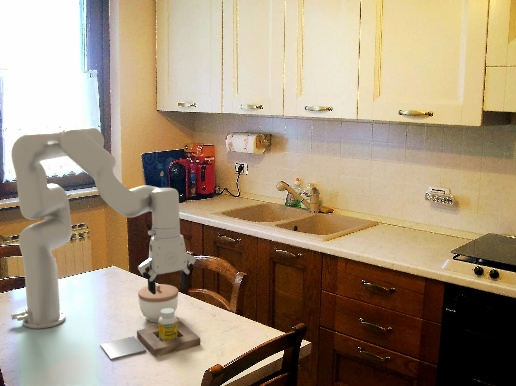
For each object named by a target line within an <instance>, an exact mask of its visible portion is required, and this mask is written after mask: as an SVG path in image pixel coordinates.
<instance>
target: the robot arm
mask: <svg viewBox="0 0 516 386" xmlns="http://www.w3.org/2000/svg"><path fill="white" fill-rule="evenodd" d="M104 146H105V137H104V135H103V134H102V132H101V131H100V130H99V129H98V128H96V127H93V126H89V125H88V126H86V125H85V126H79V127H78V126H77V127H69V128H58V129H49V130H39V131H33V132H32V131H31V132H29V133H26V134H23V135H22V136H20V137H19V138H17V139H16V140H15V142H14V143H13V145H12V148H11V160H12V161H11V162H12V165H13V169H14V173H15V178H16V186H17V188H16V189H17V196H18V203H19V209H20V213H21V215H22V217H24V218H25V219H27V220H31V221H34V220H35V221H36V220H39V219H43V218H44V220H41V221H38V222H35V223H32V224H30V225H28V226H26V227H25V228H24V229H23V230H21V232H20V234H19V236H18V246H19V249H20V252H21V255H22V261H23V269H24V271H23V272H24V279H25V280H24V281H25V293H26V306H25V307H24V310H21V311H19V312H12V313H11V314H10V316H11V320H12V321H13V320H16V321H17V322H21V321H22V324H23V326H25V327H26V328H30V329H37V330H38V329H47V328H52V327H55V326H58V325H60V324H61V323H63V322H64V321H65V320H66V313H65V312H64V311H62V310H61V308H60V306H61V305H60V290H59V273H58V264H57V261H56V259H55V257H54V255H53V253H52V251H54V250H56V249H57V248H59V247H63V246H64V245H66V244H68V242H69V241H70V239H71V237H72V234H73V232H72V231H73V227H72V217H71V209H70V208H71V207H70V201H69V197H68V194H67V192H66V191H65V189H64V188H63V187H62V186H60V185H59V184H56V183H48V178H47V173H46V170H45V168H44V166H43V165H42V164H41V161H46V160H51V159H56V158H61V157H68V158H69V159H70V160H72V162H74V163H75V164H76V165H77V166H79V168H80V169H82V170H83V171H84V172H85V173H86V174H88V175H89V176H90V177H91V178H92V179H93V180H94V183H95V187H96V189H97V192H98V193H99V195H100V197H101V199H102V200H103V201H104V202H105V203H106V204H107V205H108V206H109V207H111V208H112V209H113V210H114V211H116V212H117V213H118V214H119V215H121V216H123V217H125V218H135V217H138V216H141V215H142V214H146V213H148V212H151V220H152V226H151V229H150V230H148V231H147V233H148V236H151V238H150V241H149V249H148V250H149V252H148V259H146V260H145V261H143V262H142V263H141V264H140V265H137V269H138V271H139V273H140V274H141V275H142V276H143V277H144V278H146V279H147V286H148V290H149V291H150V292H151V293H152V294H153V295H154V294H156V283H157V282H156V280H155V278H156V277H157V275H164V274H170V273H175V272H179V271H180V273H179V274H180V276H179V277H180V286H182V287H183V288H185V289H186V288H188V284H189V275H190V272H191V270H192V269H193V268H194V264H195V262H196V260H197V257H196V256H194V255H191V254H188V253H187V250H186V244H185V238H184V235H183V234H181V230H180V229H181V226H180V225H181V224H180V222H181V221H180V199H179V198H180V197H179V196H180V195H179V192H178V190H177V189H176V188H172V187H157V186H152V185H147V184H144V185H140V186H136V187H134V188H130V189H129V188H127V187H126V186H125V185H124V184H123V183H122V182H120V180H119V179H118V178H117V177H116V176H115V173H114V172H113V171H114V168H115V166H116V162H117V160H116V158H115V156H114V155H112V154H111V153H110V152H109V151H108V150H106V148H104ZM147 268H149V271H148V272H147V271H146V269H147Z"/></svg>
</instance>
